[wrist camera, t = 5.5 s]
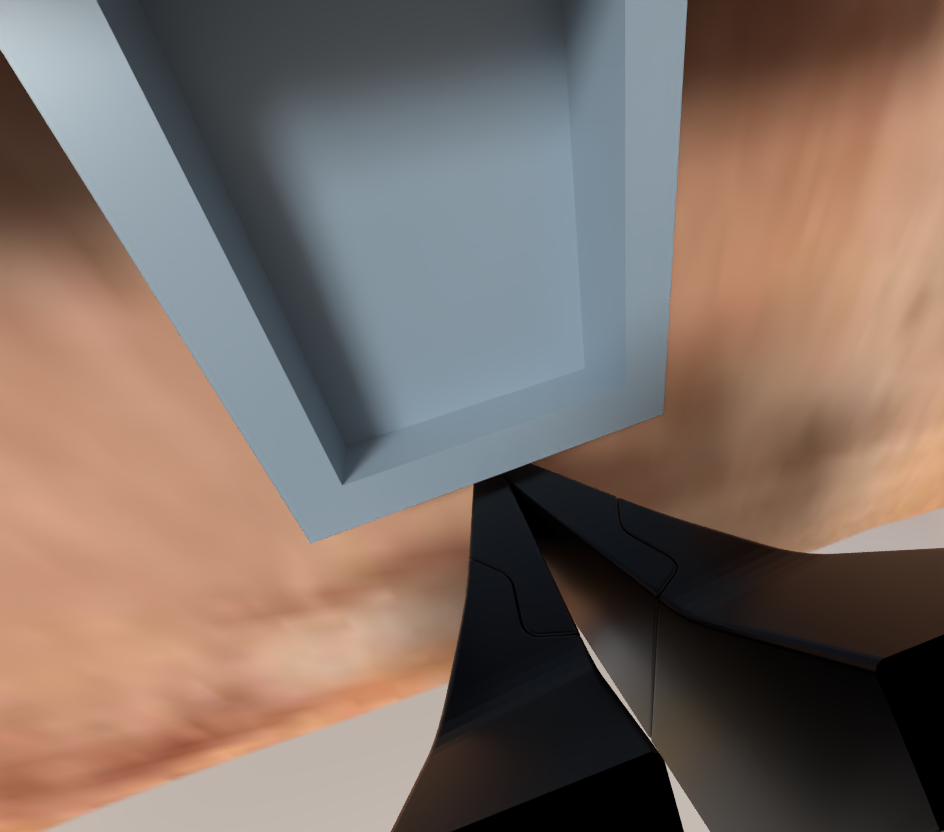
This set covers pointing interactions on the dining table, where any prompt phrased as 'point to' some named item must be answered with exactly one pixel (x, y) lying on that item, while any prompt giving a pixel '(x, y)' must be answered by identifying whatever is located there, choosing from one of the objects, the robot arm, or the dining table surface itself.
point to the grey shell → (385, 218)
